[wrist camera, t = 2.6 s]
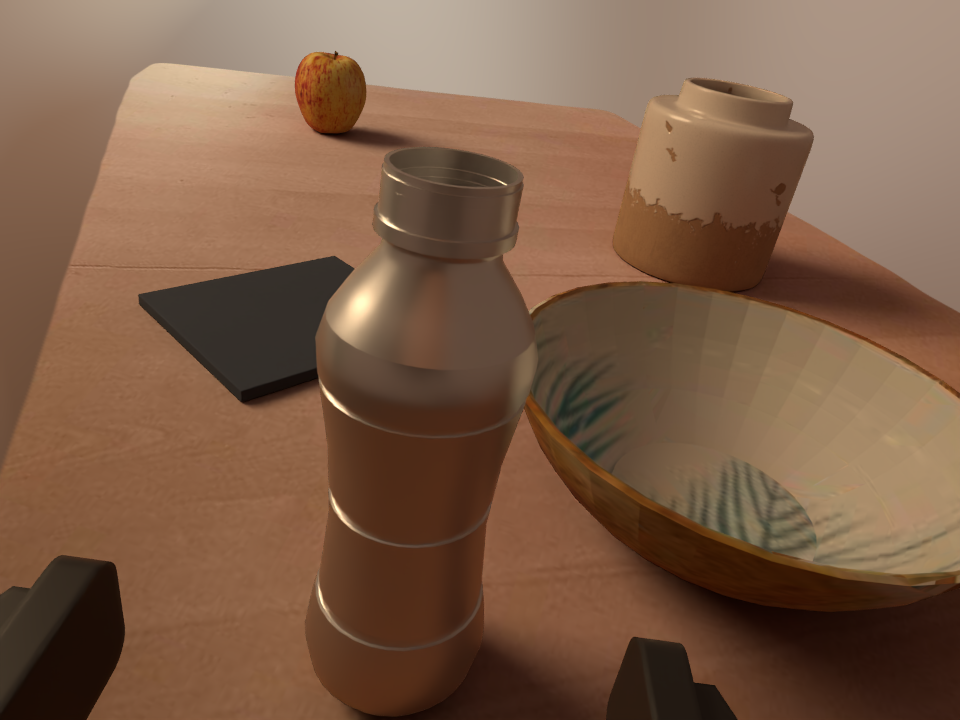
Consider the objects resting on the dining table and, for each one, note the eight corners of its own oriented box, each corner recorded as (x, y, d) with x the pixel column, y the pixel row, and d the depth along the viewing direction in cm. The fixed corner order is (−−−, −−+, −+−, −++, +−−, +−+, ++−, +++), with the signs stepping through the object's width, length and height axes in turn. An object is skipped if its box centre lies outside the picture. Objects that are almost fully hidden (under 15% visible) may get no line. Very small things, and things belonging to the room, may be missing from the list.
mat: (241, 402, 42) (240, 391, 42) (138, 304, 50) (137, 294, 50) (445, 337, 53) (446, 327, 52) (334, 264, 61) (334, 255, 60)
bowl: (1080, 667, 34) (1187, 543, 30) (604, 781, 26) (666, 631, 22) (759, 379, 55) (799, 281, 51) (434, 392, 46) (451, 277, 42)
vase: (583, 233, 77) (622, 65, 68) (693, 229, 84) (741, 76, 75) (674, 298, 65) (735, 106, 57) (793, 288, 72) (863, 115, 64)
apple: (331, 119, 102) (334, 43, 97) (378, 136, 98) (384, 57, 93) (280, 125, 96) (281, 43, 91) (328, 143, 92) (332, 59, 87)
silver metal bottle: (496, 719, 28) (628, 214, 18) (314, 763, 25) (348, 206, 15) (447, 589, 33) (527, 140, 23) (291, 614, 30) (305, 124, 20)
